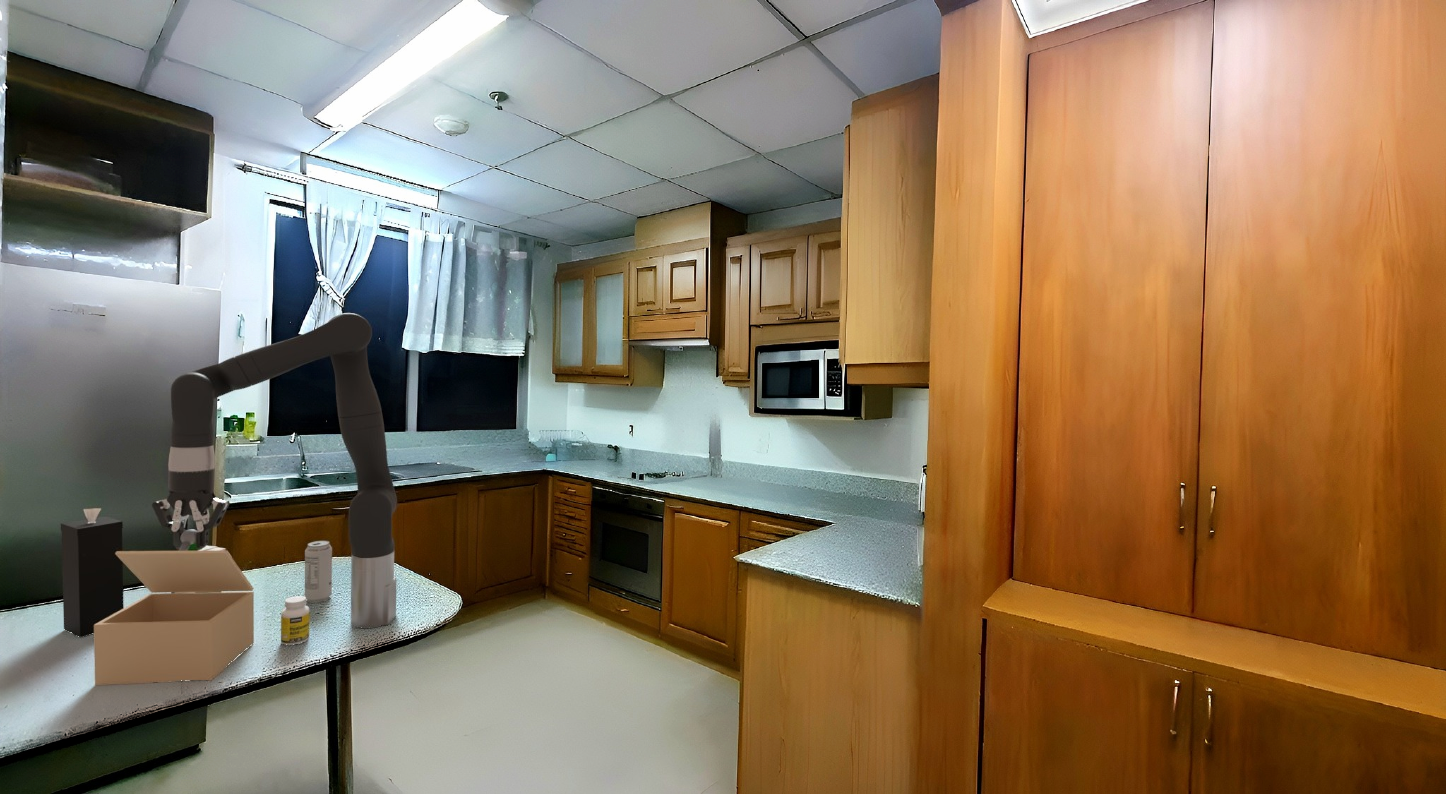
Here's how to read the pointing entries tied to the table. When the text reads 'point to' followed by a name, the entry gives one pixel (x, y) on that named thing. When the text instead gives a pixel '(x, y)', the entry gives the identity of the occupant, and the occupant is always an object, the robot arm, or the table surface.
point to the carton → (173, 637)
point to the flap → (186, 569)
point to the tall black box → (91, 571)
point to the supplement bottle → (295, 621)
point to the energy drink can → (318, 571)
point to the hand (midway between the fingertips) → (190, 547)
